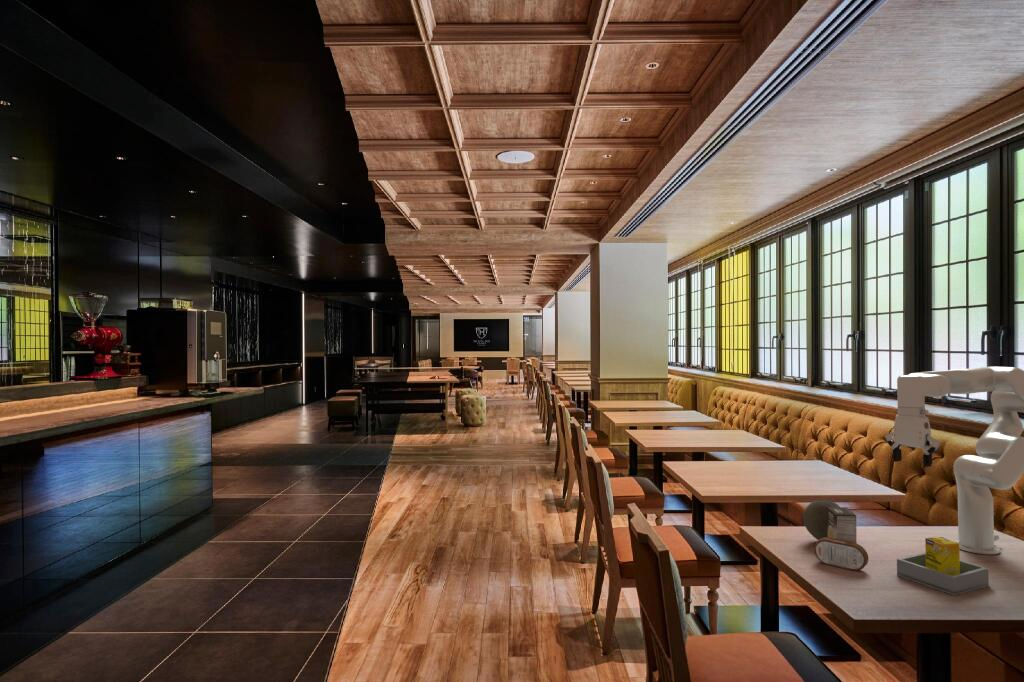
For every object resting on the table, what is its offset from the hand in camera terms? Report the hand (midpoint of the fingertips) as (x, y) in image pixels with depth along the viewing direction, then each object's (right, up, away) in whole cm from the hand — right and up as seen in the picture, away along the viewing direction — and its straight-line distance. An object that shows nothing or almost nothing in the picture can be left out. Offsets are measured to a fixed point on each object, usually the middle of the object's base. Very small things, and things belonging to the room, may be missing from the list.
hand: (912, 463), depth 196 cm
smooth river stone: (-22, -31, +12) cm, 40 cm away
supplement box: (-6, -29, -21) cm, 37 cm away
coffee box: (-25, -31, -4) cm, 40 cm away
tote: (-6, -30, -21) cm, 37 cm away
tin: (-29, -31, -10) cm, 44 cm away
